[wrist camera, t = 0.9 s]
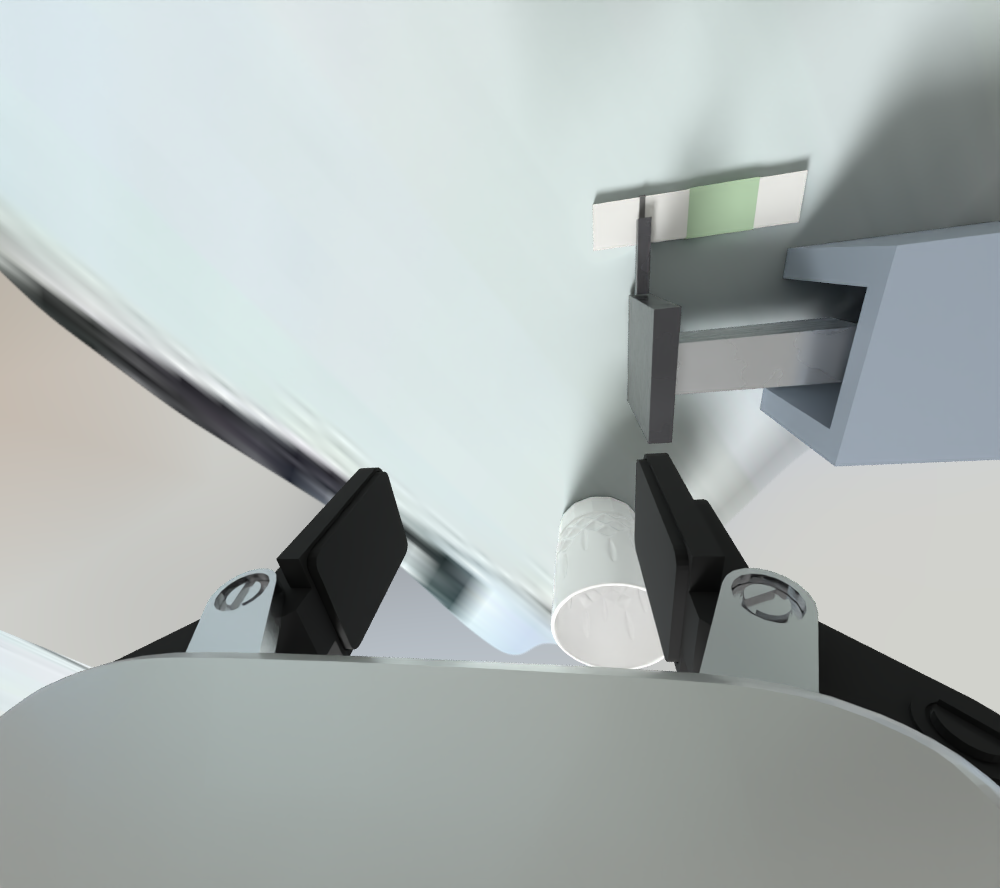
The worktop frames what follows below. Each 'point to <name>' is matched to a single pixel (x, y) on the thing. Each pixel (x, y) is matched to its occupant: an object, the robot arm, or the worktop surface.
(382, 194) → the worktop surface
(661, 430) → the plunger
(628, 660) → the white cup
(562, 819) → the robot arm
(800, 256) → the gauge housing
